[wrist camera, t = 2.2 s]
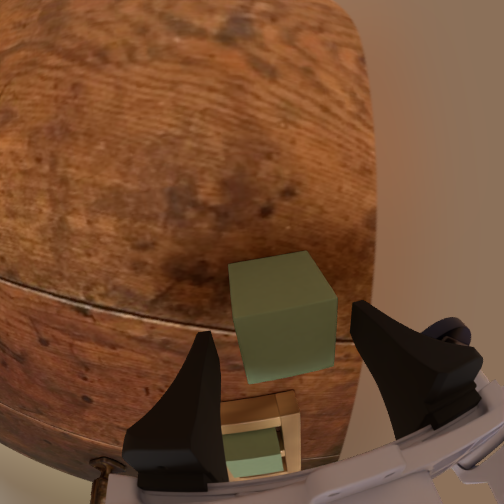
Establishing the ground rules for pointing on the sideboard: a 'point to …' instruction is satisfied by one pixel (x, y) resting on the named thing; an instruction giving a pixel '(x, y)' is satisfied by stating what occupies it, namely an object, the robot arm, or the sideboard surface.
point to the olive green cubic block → (283, 316)
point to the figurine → (103, 478)
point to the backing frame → (267, 426)
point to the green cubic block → (252, 452)
